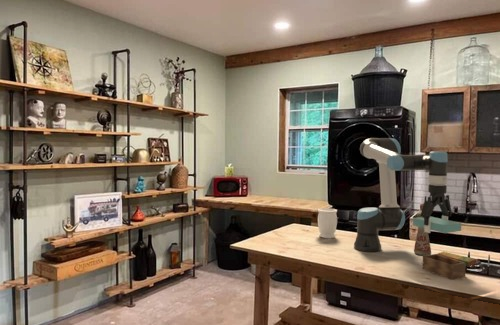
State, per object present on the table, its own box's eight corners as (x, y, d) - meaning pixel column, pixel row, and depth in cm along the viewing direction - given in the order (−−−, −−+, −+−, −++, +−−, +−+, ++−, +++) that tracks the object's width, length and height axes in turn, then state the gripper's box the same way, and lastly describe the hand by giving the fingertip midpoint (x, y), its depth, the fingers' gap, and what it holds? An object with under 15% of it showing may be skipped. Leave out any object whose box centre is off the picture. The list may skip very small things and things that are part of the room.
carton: (443, 259, 191) (443, 251, 191) (476, 267, 178) (477, 258, 178) (435, 261, 186) (435, 253, 186) (469, 270, 173) (469, 261, 173)
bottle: (434, 254, 198) (435, 203, 197) (427, 257, 193) (428, 205, 191) (418, 250, 205) (419, 201, 204) (411, 253, 199) (411, 203, 198)
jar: (313, 235, 241) (313, 208, 240) (328, 233, 246) (328, 207, 246) (326, 239, 229) (326, 211, 229) (341, 237, 235) (341, 210, 234)
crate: (422, 270, 171) (422, 256, 171) (435, 268, 175) (435, 253, 175) (451, 281, 158) (452, 265, 157) (465, 278, 161) (465, 262, 161)
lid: (412, 225, 175) (413, 218, 174) (428, 223, 179) (428, 216, 179) (444, 233, 159) (445, 225, 159) (461, 230, 164) (461, 223, 164)
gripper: (426, 186, 160) (425, 235, 161) (461, 184, 170) (460, 230, 171) (412, 184, 167) (411, 231, 168) (447, 182, 176) (445, 226, 178)
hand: (436, 230), depth 169 cm, fingers closed on lid, 11 cm apart
